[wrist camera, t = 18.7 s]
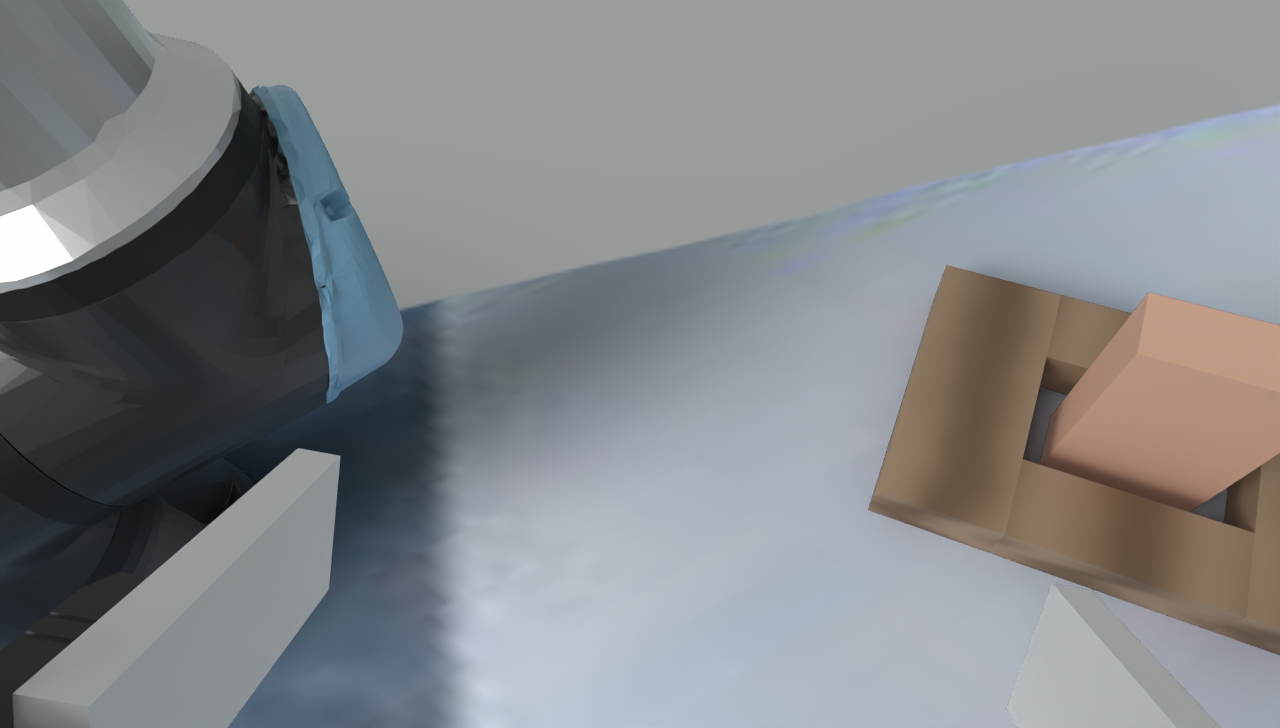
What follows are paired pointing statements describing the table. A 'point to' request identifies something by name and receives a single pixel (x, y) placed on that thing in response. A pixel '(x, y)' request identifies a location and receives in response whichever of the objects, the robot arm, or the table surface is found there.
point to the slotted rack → (1054, 500)
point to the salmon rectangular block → (1173, 405)
